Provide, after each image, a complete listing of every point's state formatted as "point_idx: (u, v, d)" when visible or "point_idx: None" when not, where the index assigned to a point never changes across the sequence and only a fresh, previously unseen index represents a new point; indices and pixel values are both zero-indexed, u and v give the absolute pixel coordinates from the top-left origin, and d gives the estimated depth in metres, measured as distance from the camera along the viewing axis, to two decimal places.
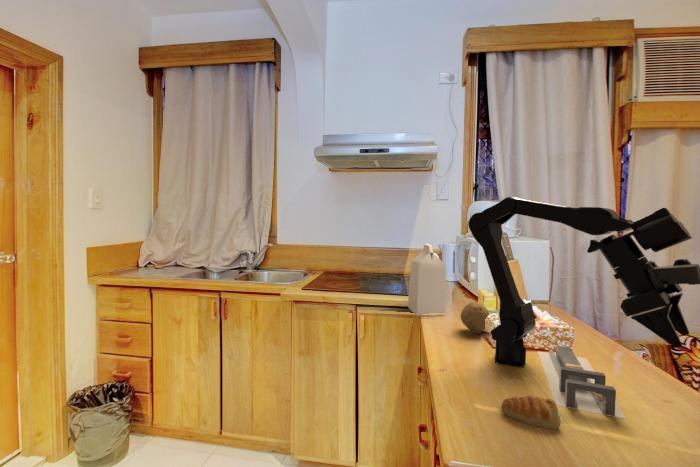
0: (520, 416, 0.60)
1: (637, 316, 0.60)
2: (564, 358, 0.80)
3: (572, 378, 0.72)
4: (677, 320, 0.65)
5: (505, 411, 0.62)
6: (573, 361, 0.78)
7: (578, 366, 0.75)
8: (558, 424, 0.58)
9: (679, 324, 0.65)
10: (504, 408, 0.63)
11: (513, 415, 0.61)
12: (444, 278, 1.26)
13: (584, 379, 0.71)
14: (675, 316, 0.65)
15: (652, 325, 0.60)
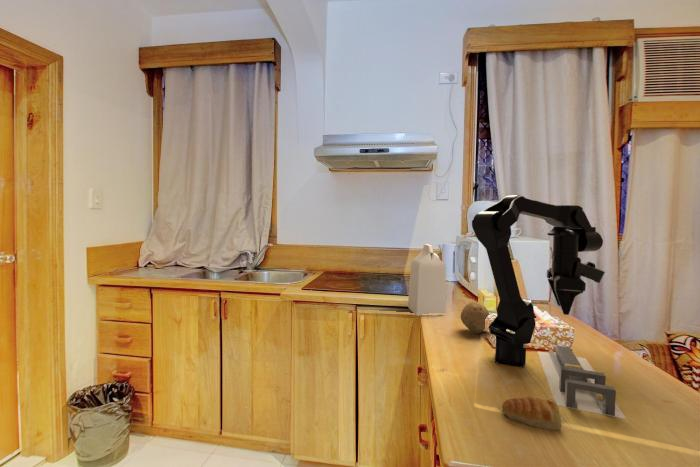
0: (521, 418, 0.60)
1: (561, 290, 0.84)
2: (564, 358, 0.80)
3: (572, 378, 0.72)
4: None
5: (506, 412, 0.62)
6: (573, 361, 0.78)
7: (578, 366, 0.75)
8: (560, 424, 0.58)
9: None
10: (505, 409, 0.62)
11: (514, 416, 0.61)
12: (444, 278, 1.26)
13: (584, 379, 0.71)
14: None
15: (562, 298, 0.86)
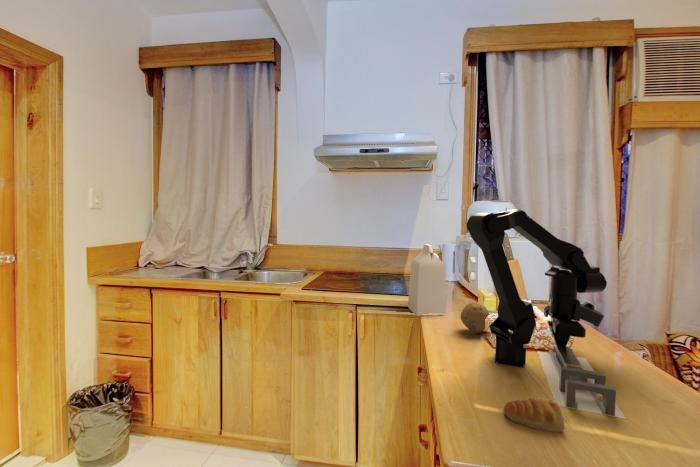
0: (524, 420, 0.59)
1: None
2: (564, 358, 0.80)
3: (572, 378, 0.72)
4: None
5: (508, 414, 0.61)
6: (573, 361, 0.78)
7: (578, 366, 0.75)
8: (562, 427, 0.57)
9: None
10: (507, 412, 0.61)
11: (517, 419, 0.60)
12: (444, 278, 1.26)
13: (584, 379, 0.71)
14: None
15: (557, 336, 0.87)
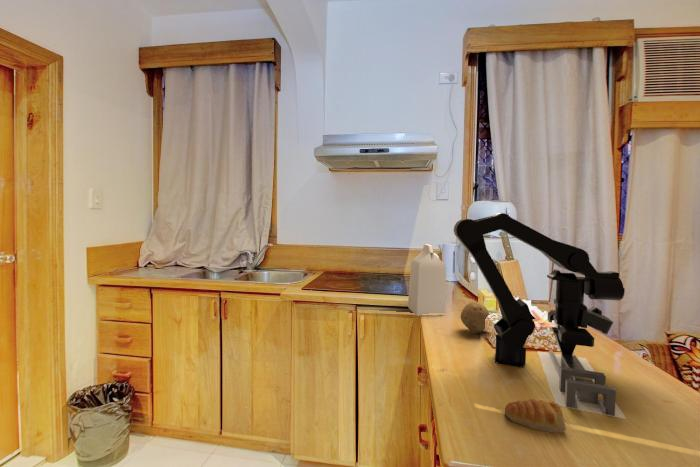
0: (525, 421, 0.59)
1: None
2: None
3: (582, 392, 0.66)
4: None
5: (509, 415, 0.61)
6: None
7: (587, 378, 0.70)
8: (564, 427, 0.57)
9: None
10: (508, 413, 0.61)
11: (518, 420, 0.60)
12: (444, 278, 1.26)
13: (595, 393, 0.66)
14: None
15: (563, 344, 0.82)
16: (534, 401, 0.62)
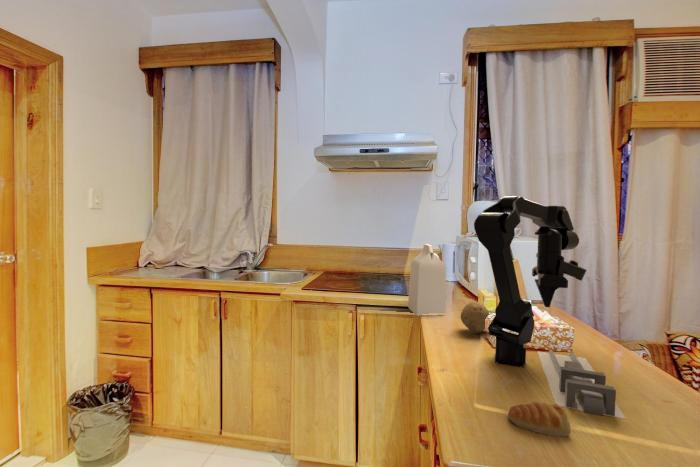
0: (530, 425, 0.58)
1: None
2: (575, 377, 0.70)
3: (586, 402, 0.63)
4: None
5: (513, 420, 0.60)
6: (586, 380, 0.69)
7: None
8: (569, 431, 0.56)
9: None
10: (512, 417, 0.60)
11: (522, 424, 0.59)
12: (444, 278, 1.26)
13: (600, 404, 0.62)
14: None
15: (543, 291, 0.93)
16: (538, 404, 0.60)
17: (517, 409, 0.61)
